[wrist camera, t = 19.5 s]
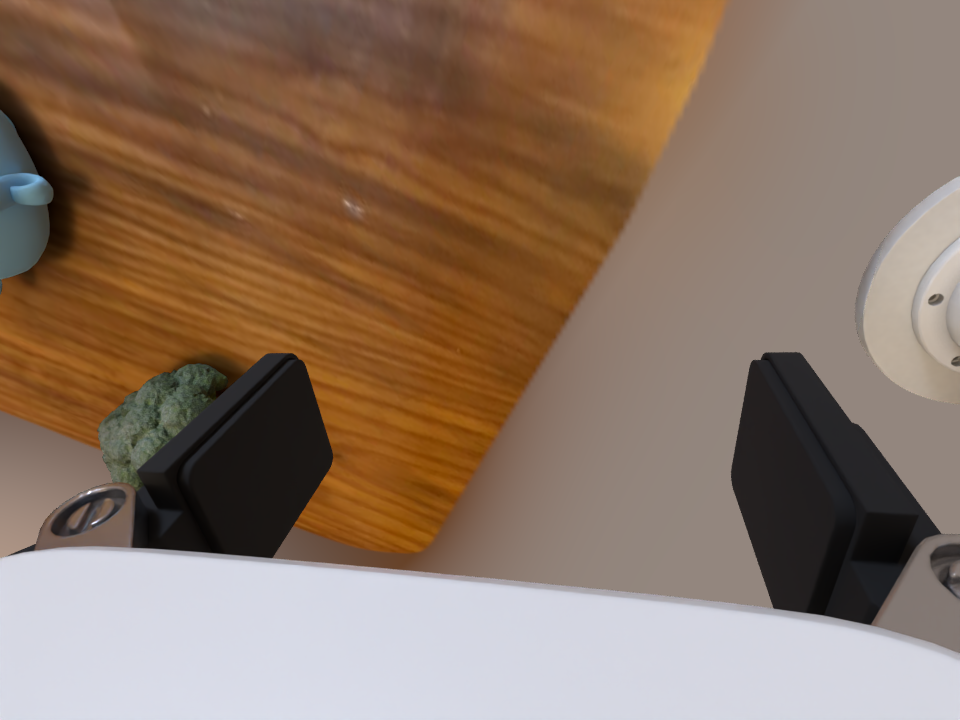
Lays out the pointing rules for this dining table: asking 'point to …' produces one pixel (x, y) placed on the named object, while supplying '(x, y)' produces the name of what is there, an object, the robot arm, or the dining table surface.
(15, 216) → the decorative pot
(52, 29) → the dining table surface
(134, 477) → the vegetable
